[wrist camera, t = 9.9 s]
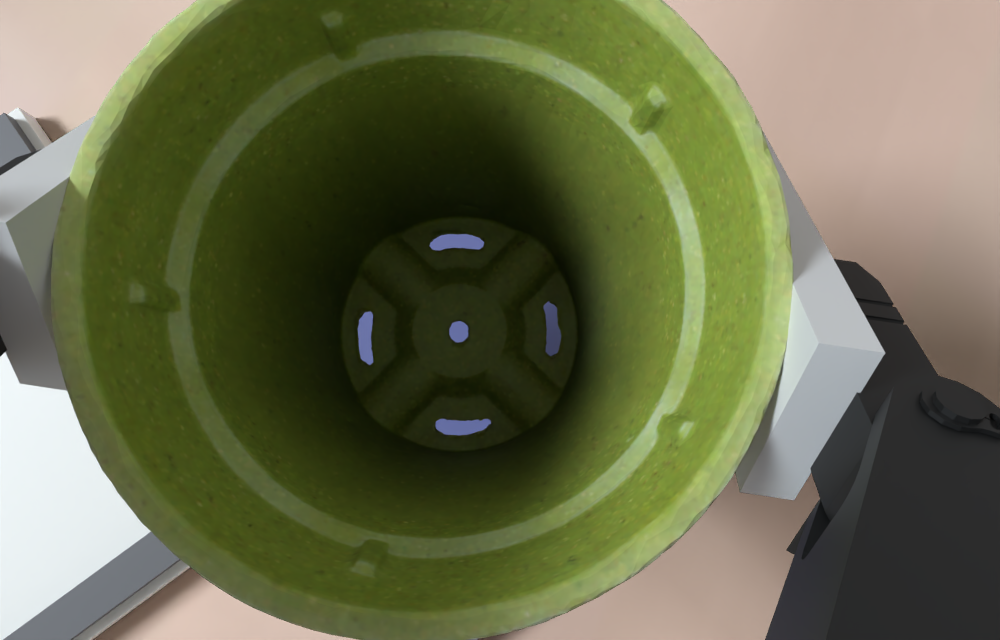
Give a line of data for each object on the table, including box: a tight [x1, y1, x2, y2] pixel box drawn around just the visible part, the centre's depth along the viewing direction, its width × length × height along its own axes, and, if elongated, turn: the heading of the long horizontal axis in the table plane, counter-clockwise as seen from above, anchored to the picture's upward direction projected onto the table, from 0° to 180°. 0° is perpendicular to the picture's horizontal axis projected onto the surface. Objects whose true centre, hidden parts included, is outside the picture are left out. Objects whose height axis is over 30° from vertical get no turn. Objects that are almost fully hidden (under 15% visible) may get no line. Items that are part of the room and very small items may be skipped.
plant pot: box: [51, 0, 794, 640], centre depth 13 cm, size 9×9×9 cm
